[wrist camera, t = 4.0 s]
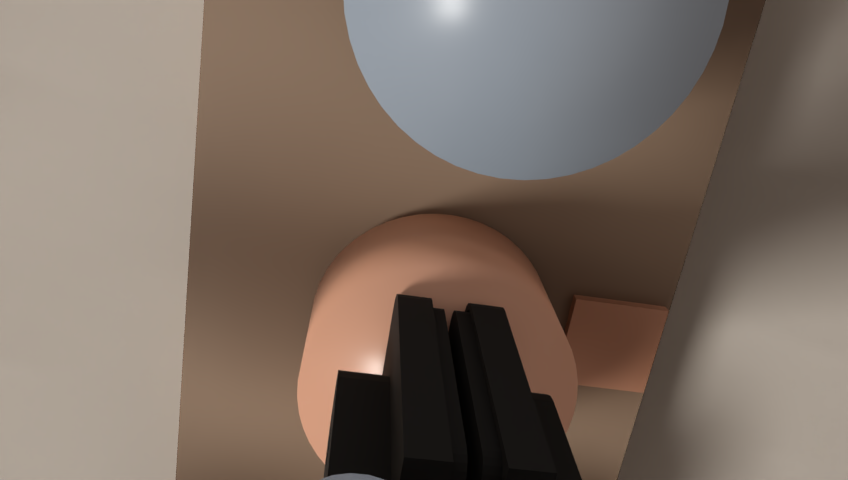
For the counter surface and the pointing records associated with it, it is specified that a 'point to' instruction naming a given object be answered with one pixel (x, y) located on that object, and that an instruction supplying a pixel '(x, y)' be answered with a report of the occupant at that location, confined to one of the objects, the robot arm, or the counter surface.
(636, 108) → the button slate
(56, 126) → the counter surface
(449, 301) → the button terracotta
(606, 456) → the button board
